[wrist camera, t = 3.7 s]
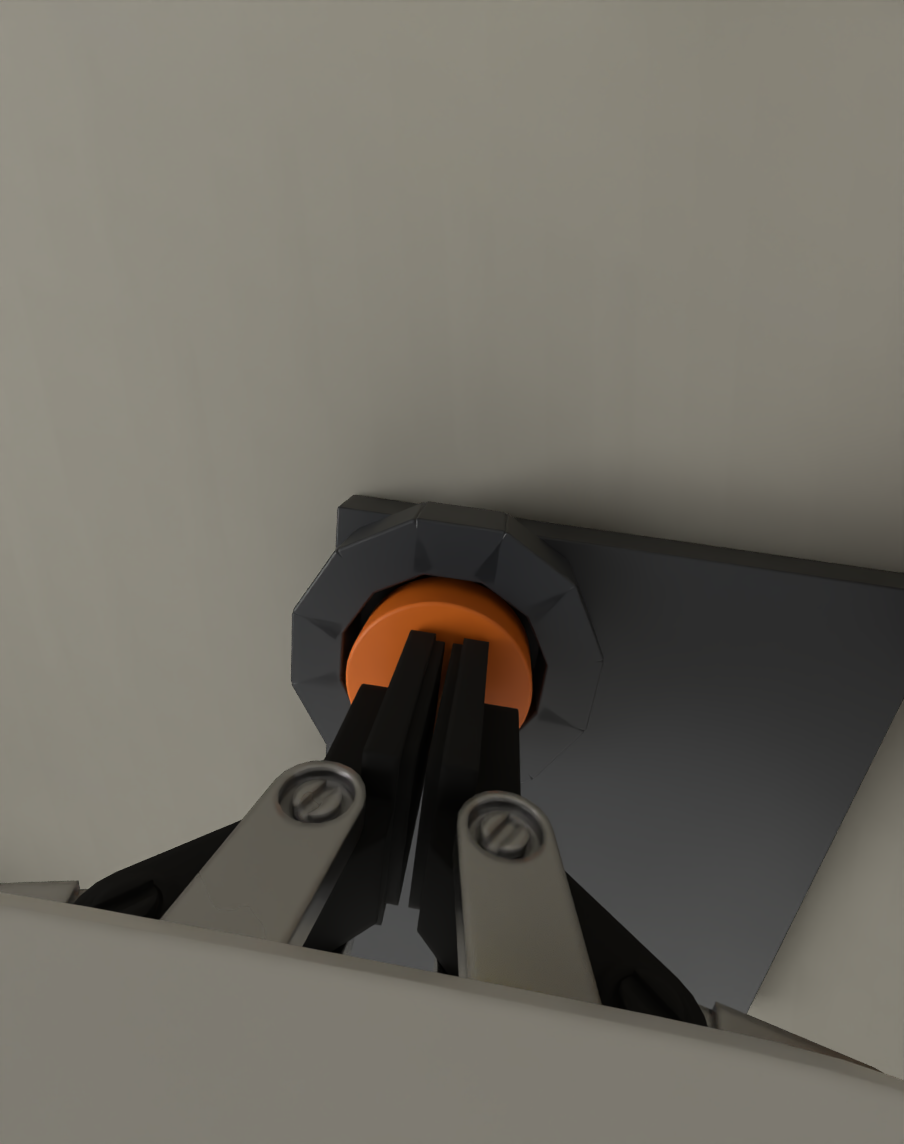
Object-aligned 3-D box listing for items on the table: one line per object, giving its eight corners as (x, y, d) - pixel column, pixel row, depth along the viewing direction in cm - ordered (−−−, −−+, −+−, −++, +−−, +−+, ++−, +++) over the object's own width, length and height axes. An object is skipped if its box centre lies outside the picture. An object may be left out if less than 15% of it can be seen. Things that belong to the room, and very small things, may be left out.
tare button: (368, 563, 12) (349, 589, 11) (543, 589, 12) (549, 618, 11) (358, 710, 14) (340, 749, 12) (514, 736, 13) (515, 779, 12)
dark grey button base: (336, 474, 14) (293, 500, 11) (919, 557, 13) (1032, 607, 10) (316, 922, 20) (284, 1013, 17) (718, 996, 19) (754, 1104, 16)
